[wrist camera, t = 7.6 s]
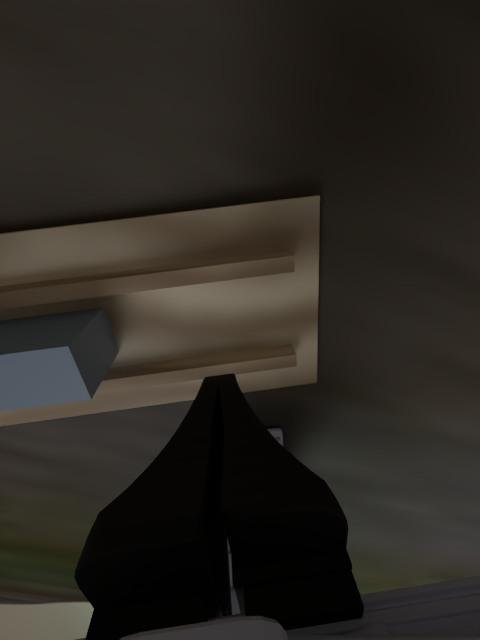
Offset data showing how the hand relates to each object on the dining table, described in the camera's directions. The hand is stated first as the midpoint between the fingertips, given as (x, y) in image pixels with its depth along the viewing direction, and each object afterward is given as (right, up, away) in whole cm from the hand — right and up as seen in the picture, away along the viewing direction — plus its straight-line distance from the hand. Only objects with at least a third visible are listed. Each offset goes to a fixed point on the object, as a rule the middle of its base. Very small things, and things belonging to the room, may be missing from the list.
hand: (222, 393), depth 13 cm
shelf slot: (-7, +3, +8) cm, 11 cm away
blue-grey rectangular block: (-13, +2, +7) cm, 15 cm away
